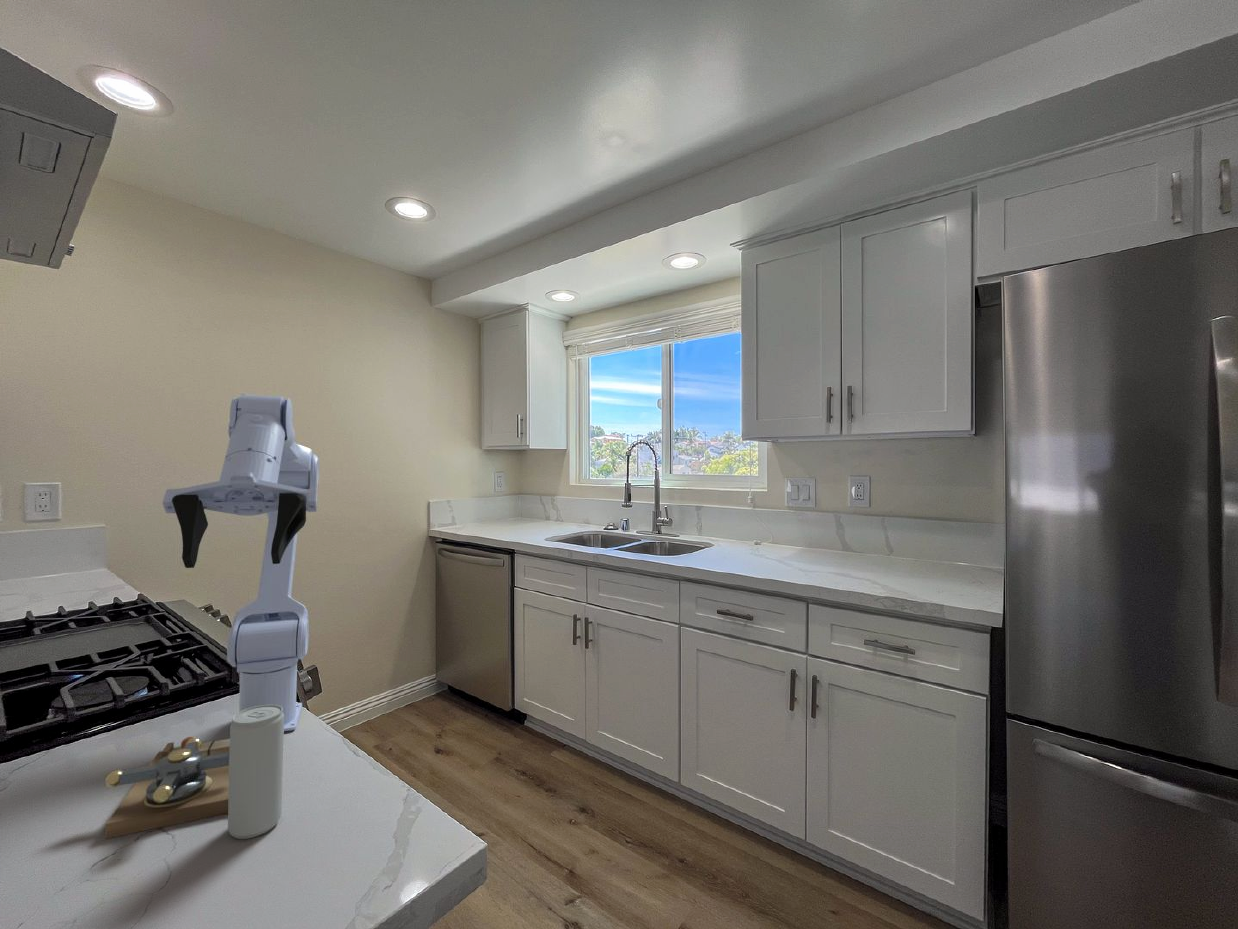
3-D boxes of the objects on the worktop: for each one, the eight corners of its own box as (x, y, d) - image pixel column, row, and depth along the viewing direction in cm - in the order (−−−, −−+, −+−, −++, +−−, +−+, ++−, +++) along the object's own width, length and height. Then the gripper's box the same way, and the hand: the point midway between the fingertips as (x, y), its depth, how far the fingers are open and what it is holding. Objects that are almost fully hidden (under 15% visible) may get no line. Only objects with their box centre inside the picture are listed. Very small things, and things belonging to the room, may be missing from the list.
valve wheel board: (158, 763, 70) (159, 734, 70) (268, 744, 75) (268, 717, 75) (105, 838, 55) (106, 802, 55) (245, 809, 60) (246, 775, 61)
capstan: (128, 771, 64) (129, 739, 64) (256, 749, 70) (257, 719, 70) (76, 837, 53) (78, 797, 53) (234, 804, 58) (235, 768, 58)
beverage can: (254, 845, 55) (257, 725, 55) (215, 838, 56) (218, 721, 56) (292, 816, 59) (294, 706, 60) (255, 810, 60) (258, 702, 61)
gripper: (170, 441, 60) (135, 540, 51) (318, 446, 66) (309, 535, 58) (183, 483, 65) (152, 580, 56) (320, 484, 71) (312, 572, 62)
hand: (232, 560), depth 57 cm, fingers open, 7 cm apart
